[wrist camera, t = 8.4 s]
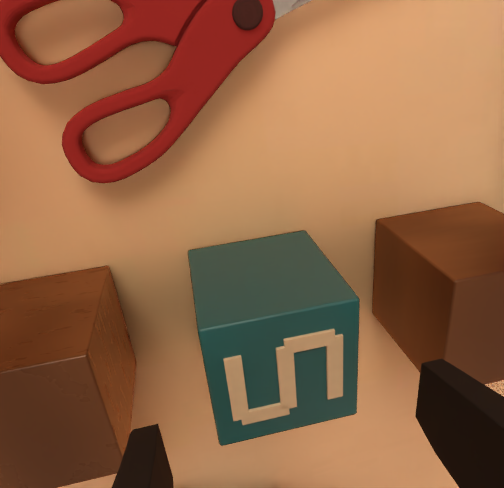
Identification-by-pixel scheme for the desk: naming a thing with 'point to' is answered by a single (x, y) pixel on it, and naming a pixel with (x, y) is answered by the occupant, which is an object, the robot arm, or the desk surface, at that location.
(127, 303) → the desk surface
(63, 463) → the block
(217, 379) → the block
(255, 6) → the scissors
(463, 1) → the desk surface
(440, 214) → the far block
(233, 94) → the desk surface
